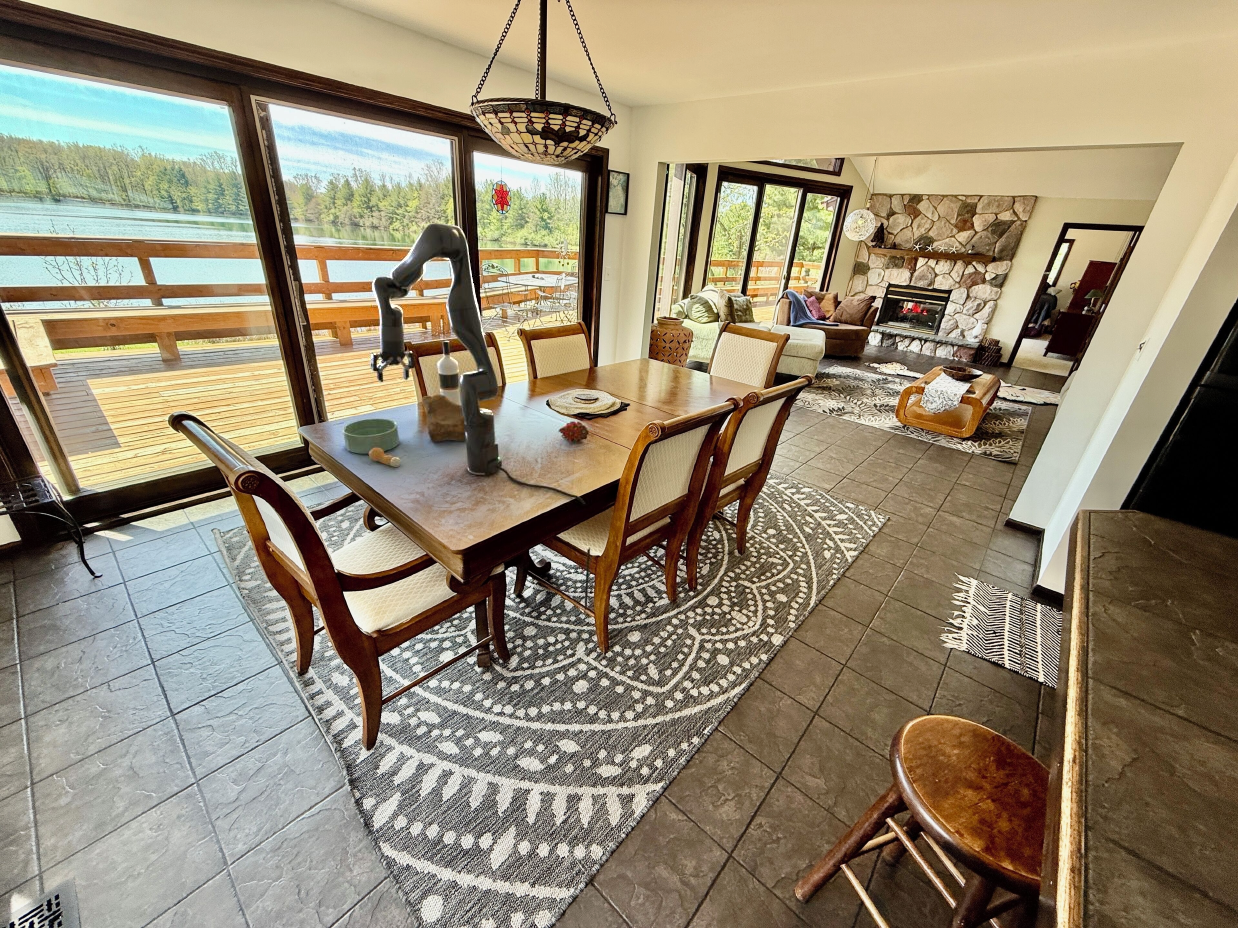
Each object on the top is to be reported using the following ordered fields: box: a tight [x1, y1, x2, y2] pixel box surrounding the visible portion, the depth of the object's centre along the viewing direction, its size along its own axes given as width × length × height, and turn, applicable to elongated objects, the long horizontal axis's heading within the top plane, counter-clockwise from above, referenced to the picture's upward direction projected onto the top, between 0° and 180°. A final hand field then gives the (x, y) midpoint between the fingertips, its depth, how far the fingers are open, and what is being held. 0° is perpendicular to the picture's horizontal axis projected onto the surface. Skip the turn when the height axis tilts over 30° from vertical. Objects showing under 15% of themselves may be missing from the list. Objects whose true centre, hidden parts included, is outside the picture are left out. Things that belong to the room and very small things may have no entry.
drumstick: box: [368, 448, 402, 468], centre depth 159 cm, size 12×5×5 cm, turn 65°
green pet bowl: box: [342, 418, 400, 455], centre depth 171 cm, size 17×17×7 cm
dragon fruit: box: [558, 421, 589, 444], centre depth 186 cm, size 8×8×12 cm
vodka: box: [436, 340, 461, 405], centre depth 203 cm, size 9×9×30 cm
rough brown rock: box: [421, 394, 466, 443], centre depth 179 cm, size 23×17×15 cm
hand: (393, 380), depth 174 cm, fingers open, 8 cm apart
